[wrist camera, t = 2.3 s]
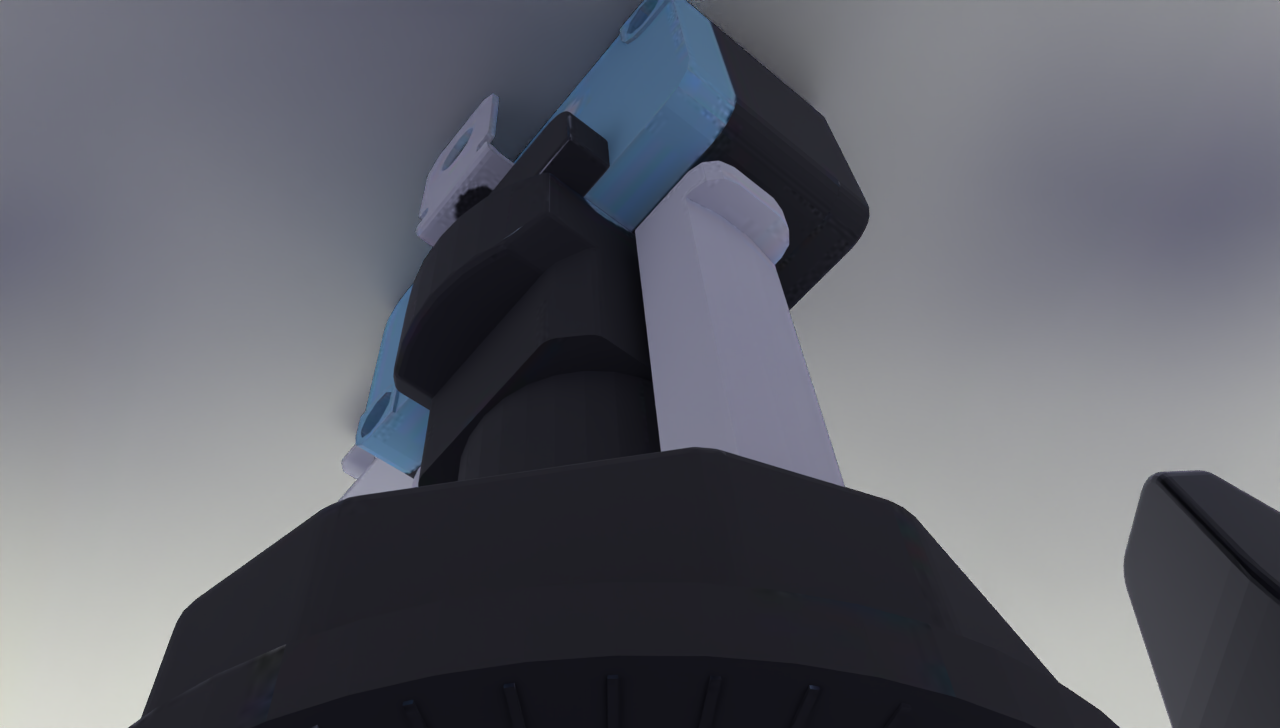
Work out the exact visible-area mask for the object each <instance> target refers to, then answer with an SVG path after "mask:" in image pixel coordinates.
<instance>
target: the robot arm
mask: <svg viewBox="0 0 1280 728" xmlns="http://www.w3.org/2000/svg"><path fill="white" fill-rule="evenodd" d="M1124 578H1125V584H1126V587H1127V591H1128V594H1129V597H1130V600H1131V603H1132V606H1133V609H1134V612H1135V615H1136V618H1137V622H1138V625H1139V628H1140V631H1141V634H1142V637H1143V640H1144V643H1145V646H1146V649H1147V652H1148V655H1149V658H1150V661H1151V664H1152V667H1153V670H1154V673H1155V676H1156V680H1157V683H1158V686H1159V689H1160V692H1161V695H1162V698H1163V701H1164V704H1165V707H1166V710H1167V713H1168V716H1169V719H1170V722H1171V725H1172V728H1280V512H1278V511H1277V510H1275V509H1273V508H1271V507H1270V506H1268V505H1266V504H1264V503H1263V502H1261V501H1259V500H1257V499H1256V498H1254V497H1252V496H1251V495H1249V494H1247V493H1245V492H1244V491H1242V490H1240V489H1238V488H1237V487H1235V486H1233V485H1231V484H1230V483H1228V482H1226V481H1224V480H1223V479H1221V478H1219V477H1218V476H1216V475H1214V474H1212V473H1210V472H1206V471H1200V470H1195V471H1170V472H1158V473H1155V474H1153V475H1151V476H1150V477H1149V478H1148V479H1147V481H1146V482H1145V484H1144V486H1143V489H1142V491H1141V495H1140V499H1139V502H1138V506H1137V510H1136V514H1135V517H1134V521H1133V525H1132V529H1131V532H1130V536H1129V540H1128V544H1127V547H1126V551H1125V556H1124Z"/></svg>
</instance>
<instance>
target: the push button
mask: <svg viewBox="0 0 1280 728" xmlns="http://www.w3.org/2000/svg"><path fill="white" fill-rule="evenodd" d="M619 30H620V35H619V36H618V37H617V38H616V40H615V41H614V42H613V43H612V44H611V46H610V47H609V48H608V49H607V50H606V52H605V53H604V54H603V55H602V56H601V58H600V59H599V60H598V61H597V62H596V64H595V65H594V66H593V67H592V68H591V70H590V71H589V72H588V73H587V74H586V76H585V77H584V78H583V79H582V81H581V82H580V83H579V84H578V85H577V87H576V88H575V89H574V90H573V91H572V93H571V94H570V95H569V96H568V97H567V99H566V100H565V101H564V102H563V103H562V105H561V106H560V107H559V108H558V109H557V111H556V112H555V113H554V114H553V115H552V117H551V118H550V119H549V120H548V122H547V123H546V124H545V125H544V126H543V128H542V129H541V130H540V131H539V132H538V134H537V135H536V136H535V137H534V138H533V140H532V141H531V142H530V143H529V144H528V146H527V147H526V148H525V149H524V150H523V152H522V153H521V154H520V155H519V156H518V158H517V159H516V160H515V161H514V163H513V162H512V161H510V160H509V159H508V158H506V157H505V156H503V155H502V154H501V153H500V152H498V151H497V150H496V148H495V147H494V146H493V145H491V144H490V143H491V142H492V140H493V139H494V137H495V132H496V124H497V115H498V106H499V97H498V96H497V95H495V94H494V93H492V94H491V95H490V96H488V97H487V98H485V99H484V100H483V101H482V103H481V104H480V105H479V106H478V108H477V109H476V110H475V111H474V113H473V114H472V115H471V116H470V118H469V119H468V120H467V121H466V123H465V124H464V125H463V126H462V128H461V129H460V130H459V131H458V133H457V134H456V135H455V137H454V138H453V139H452V140H451V142H450V143H449V144H448V145H447V147H446V148H445V149H444V150H443V152H442V153H441V154H440V155H439V157H438V159H437V160H436V162H435V164H434V165H433V167H432V169H431V170H430V172H429V174H428V177H427V181H426V186H425V190H424V195H423V199H422V204H421V208H420V213H419V218H420V219H421V220H422V221H421V222H420V223H419V225H418V226H417V228H416V234H417V235H418V237H419V238H421V239H422V240H423V241H425V242H426V243H428V244H429V245H431V246H432V247H433V248H432V249H431V251H430V252H429V254H428V255H427V257H426V258H425V260H424V261H423V264H422V266H421V268H420V270H419V272H418V275H417V277H416V279H415V281H414V283H413V284H412V285H411V287H410V288H409V289H408V290H407V292H406V293H405V294H404V295H403V297H402V298H401V300H400V301H399V302H398V304H397V305H396V307H395V308H394V310H393V312H392V314H391V315H390V317H389V319H388V322H387V324H386V327H385V329H384V334H383V338H382V342H381V346H380V351H379V355H378V359H377V364H376V368H375V372H374V376H373V381H372V385H371V389H370V393H369V398H368V402H367V406H366V411H365V413H364V414H363V415H362V416H361V417H360V422H359V426H358V430H357V434H356V444H355V445H354V446H353V447H352V449H351V450H350V451H349V452H348V453H347V454H346V455H345V457H344V458H343V459H342V462H341V464H342V468H343V471H344V472H345V473H347V474H349V475H350V476H352V477H354V478H356V479H357V480H356V481H355V483H354V484H353V485H352V486H351V487H350V488H349V489H348V490H347V492H346V493H345V494H344V495H343V496H342V497H341V498H340V500H339V501H338V502H337V503H334V504H332V505H330V506H328V507H326V508H324V509H322V510H320V511H319V512H318V513H316V514H315V515H313V516H312V517H311V518H309V519H308V520H306V521H305V522H304V523H302V524H301V525H299V526H298V527H297V528H295V529H294V530H292V531H291V532H290V533H288V534H287V535H285V536H284V537H283V538H281V539H280V540H278V541H277V542H276V543H274V544H273V545H271V546H270V547H269V548H267V549H266V550H264V551H263V552H262V553H260V554H259V555H257V556H256V557H255V558H253V559H252V560H250V561H249V562H248V563H246V564H245V565H243V566H242V567H241V568H239V569H238V570H236V571H235V572H234V573H232V574H231V575H229V576H228V577H227V578H225V579H224V580H222V581H221V582H220V583H218V584H217V585H215V586H214V587H213V588H211V589H210V590H208V591H207V592H206V593H204V594H203V595H201V596H200V597H199V598H197V599H196V600H195V601H194V602H193V603H192V604H190V605H189V606H188V607H187V608H186V609H185V610H184V611H183V613H182V614H181V616H180V618H179V619H178V621H177V623H176V625H175V628H174V630H173V633H172V636H171V638H170V641H169V644H168V646H167V649H166V652H165V655H164V657H163V660H162V663H161V666H160V668H159V671H158V674H157V676H156V679H155V682H154V685H153V687H152V690H151V693H150V695H149V698H148V701H147V704H146V706H145V709H144V712H143V714H142V717H141V719H140V720H138V721H137V722H136V723H134V724H133V725H131V726H130V727H129V728H1120V727H1119V726H1117V725H1116V724H1115V723H1114V722H1113V721H1112V720H1111V719H1110V718H1108V717H1107V716H1106V715H1105V714H1104V713H1103V712H1102V711H1101V710H1099V709H1098V708H1096V707H1095V706H1093V705H1092V704H1090V703H1089V702H1087V701H1086V700H1084V699H1083V698H1081V697H1080V696H1078V695H1077V694H1075V693H1074V692H1072V691H1071V690H1069V689H1068V688H1066V687H1065V686H1063V685H1062V684H1061V683H1059V682H1058V681H1057V680H1056V679H1055V678H1054V676H1053V675H1052V674H1051V673H1050V672H1049V671H1048V669H1047V668H1046V667H1045V666H1044V665H1043V664H1042V663H1041V661H1040V660H1039V659H1038V658H1037V657H1036V656H1035V655H1034V653H1033V652H1032V651H1031V650H1030V649H1029V648H1028V646H1027V645H1026V644H1025V643H1024V642H1023V641H1022V640H1021V638H1020V637H1019V636H1018V635H1017V634H1016V633H1015V631H1014V630H1013V629H1012V628H1011V627H1010V626H1009V625H1008V623H1007V622H1006V621H1005V620H1004V619H1003V618H1002V616H1001V615H1000V614H999V613H998V612H997V611H996V610H995V608H994V607H993V606H992V605H991V604H990V603H989V602H988V600H987V599H986V598H985V597H984V596H983V595H982V593H981V592H980V591H979V590H978V589H977V588H976V587H975V585H974V584H973V583H972V582H971V581H970V580H969V578H968V577H967V576H966V575H965V574H964V573H963V572H962V570H961V569H960V568H959V567H958V566H957V565H956V563H955V562H954V561H953V560H952V559H951V558H950V557H949V555H948V554H947V553H946V552H945V551H944V550H943V549H942V547H941V546H940V545H939V544H938V543H937V542H936V540H935V539H934V538H933V537H932V536H931V535H930V534H929V532H928V531H927V530H926V529H925V528H924V527H923V525H922V524H921V523H920V522H919V521H918V520H917V519H916V517H915V516H913V515H912V514H911V513H910V512H908V511H907V510H906V509H904V508H903V507H901V506H899V505H897V504H895V503H893V502H891V501H889V500H886V499H883V498H880V497H876V496H873V495H870V494H866V493H863V492H860V491H856V490H853V489H849V488H846V487H845V485H844V482H843V479H842V476H841V472H840V469H839V466H838V463H837V460H836V457H835V453H834V450H833V447H832V444H831V441H830V438H829V435H828V431H827V428H826V425H825V422H824V419H823V416H822V412H821V409H820V406H819V403H818V400H817V397H816V394H815V390H814V387H813V384H812V381H811V378H810V375H809V371H808V368H807V365H806V362H805V359H804V356H803V353H802V349H801V346H800V343H799V340H798V337H797V334H796V330H795V327H794V324H793V321H792V318H791V315H790V312H789V310H790V309H791V308H792V307H793V306H794V305H795V304H796V303H797V302H798V301H799V300H800V299H801V298H802V297H803V296H804V295H805V294H806V293H807V292H808V291H809V290H810V289H811V288H812V287H813V286H814V285H815V284H816V283H817V282H818V281H819V280H820V279H821V278H822V277H823V276H824V275H825V274H826V273H827V272H828V271H829V270H830V269H831V268H832V267H834V266H835V265H836V264H837V263H838V262H839V261H840V260H841V259H842V258H843V257H844V256H845V255H846V254H847V253H848V252H849V251H850V250H851V249H852V247H853V246H854V245H855V244H856V243H857V241H858V240H859V239H860V237H861V235H862V234H863V232H864V230H865V228H866V226H867V223H868V220H869V206H868V204H867V202H866V200H865V198H864V196H863V194H862V192H861V190H860V188H859V186H858V184H857V182H856V180H855V178H854V176H853V174H852V172H851V170H850V168H849V166H848V164H847V162H846V160H845V158H844V156H843V154H842V152H841V150H840V148H839V146H838V144H837V142H836V140H835V138H834V136H833V134H832V132H831V130H830V128H829V126H828V124H827V122H826V120H825V118H824V117H823V116H822V115H821V114H820V113H819V112H818V111H816V110H815V109H814V108H813V107H812V106H811V105H809V104H808V103H807V102H806V101H805V100H803V99H802V98H801V97H800V96H799V95H798V94H796V93H795V92H793V91H792V90H791V89H790V88H789V87H788V86H786V85H785V84H784V83H783V82H782V81H780V80H779V79H778V78H777V77H776V76H774V75H773V74H772V73H771V72H770V71H769V70H767V69H766V68H765V67H764V66H763V65H761V64H760V63H759V62H758V61H757V60H756V59H754V58H753V57H752V56H751V55H750V54H748V53H747V52H746V51H745V50H744V49H743V48H741V47H740V46H739V45H738V44H737V43H735V42H734V41H733V40H732V39H731V38H729V37H728V36H727V35H726V34H725V33H724V32H722V31H721V30H720V29H719V28H718V27H716V26H715V25H714V24H713V23H712V22H711V21H709V20H708V19H707V18H706V17H705V16H703V15H702V14H701V13H700V12H699V11H697V10H696V9H695V8H694V7H693V6H692V5H690V4H689V3H688V2H687V1H686V0H644V1H643V2H642V3H641V4H640V5H639V6H638V8H637V9H636V10H635V11H634V12H633V14H632V15H631V16H630V17H629V18H628V20H627V21H626V22H625V23H624V25H623V26H622V27H621V28H620V29H619ZM467 141H468V142H467ZM466 143H467V144H466ZM465 144H466V145H465ZM464 145H465V147H464V148H463V146H464ZM462 148H463V150H462V152H461V153H460V154H459V156H458V157H457V155H458V153H459V152H460V151H461V149H462ZM456 157H457V158H456ZM455 158H456V160H455ZM454 160H455V161H454ZM376 457H377V458H376Z"/></svg>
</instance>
